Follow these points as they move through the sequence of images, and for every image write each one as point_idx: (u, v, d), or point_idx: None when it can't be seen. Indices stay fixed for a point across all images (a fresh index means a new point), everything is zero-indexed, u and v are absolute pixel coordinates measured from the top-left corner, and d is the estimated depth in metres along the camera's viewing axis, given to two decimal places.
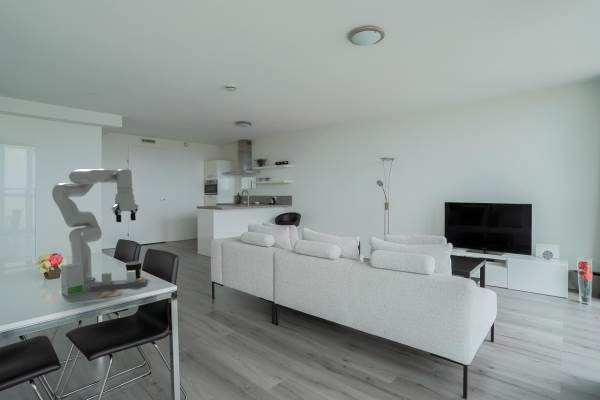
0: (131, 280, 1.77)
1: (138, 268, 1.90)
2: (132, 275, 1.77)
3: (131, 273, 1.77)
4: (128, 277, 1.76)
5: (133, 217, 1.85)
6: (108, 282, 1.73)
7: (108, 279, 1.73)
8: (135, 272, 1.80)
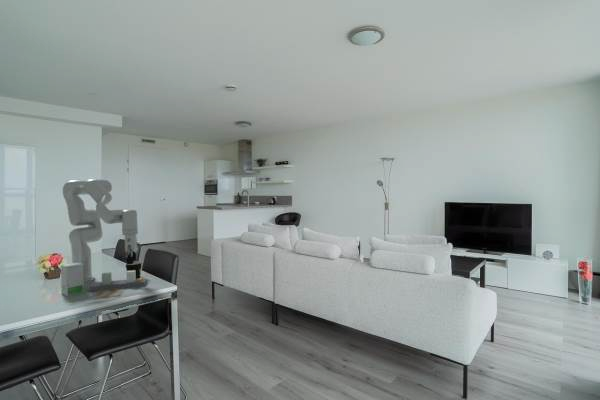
0: (131, 280, 1.77)
1: (138, 268, 1.90)
2: (132, 275, 1.77)
3: (131, 273, 1.77)
4: (128, 277, 1.76)
5: None
6: (108, 282, 1.73)
7: (108, 279, 1.73)
8: (135, 272, 1.80)
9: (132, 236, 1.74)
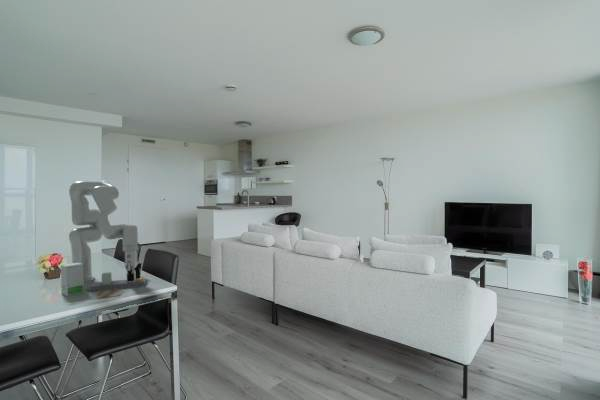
0: None
1: (138, 268, 1.90)
2: None
3: None
4: None
5: None
6: (108, 282, 1.73)
7: (108, 279, 1.73)
8: (135, 272, 1.80)
9: (132, 252, 1.74)
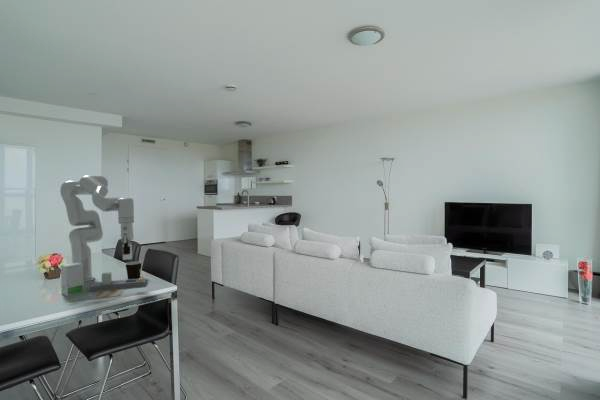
0: None
1: (138, 268, 1.90)
2: None
3: None
4: None
5: None
6: (108, 282, 1.73)
7: (108, 279, 1.73)
8: (131, 246, 1.77)
9: (128, 224, 1.71)
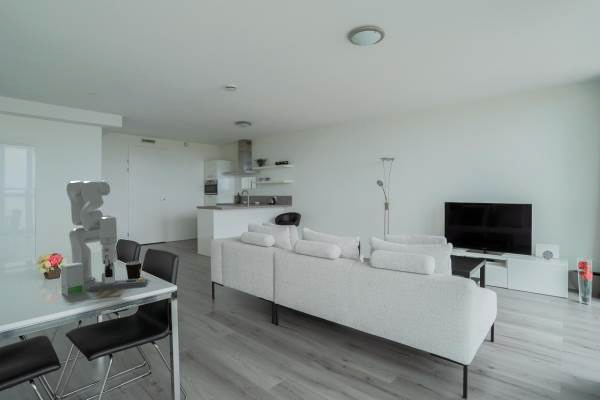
0: None
1: (138, 268, 1.90)
2: None
3: None
4: None
5: None
6: None
7: None
8: (114, 268, 1.66)
9: (110, 246, 1.60)
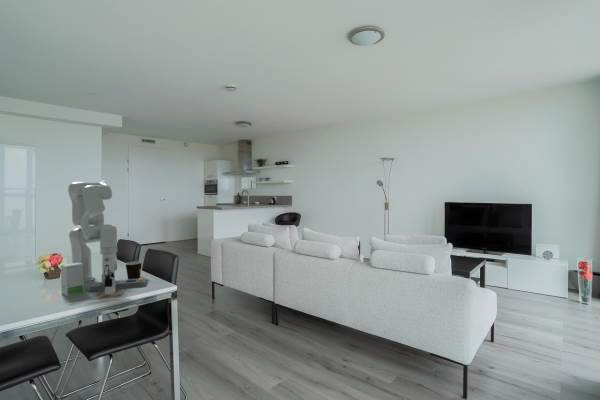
0: (110, 288, 1.63)
1: (138, 268, 1.90)
2: None
3: None
4: None
5: None
6: None
7: None
8: None
9: (110, 255, 1.60)
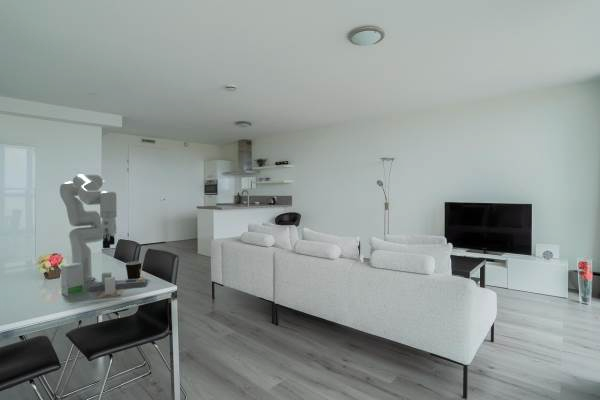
0: (110, 288, 1.63)
1: (138, 268, 1.90)
2: (111, 282, 1.63)
3: (110, 280, 1.63)
4: (106, 284, 1.62)
5: None
6: None
7: None
8: None
9: (110, 219, 1.66)
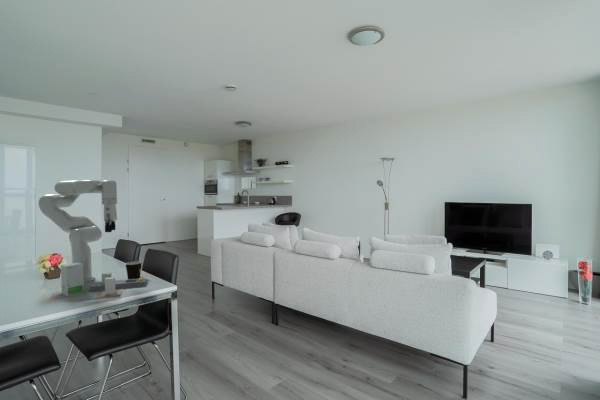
0: (110, 288, 1.63)
1: (138, 268, 1.90)
2: (111, 282, 1.63)
3: (110, 280, 1.63)
4: (106, 284, 1.62)
5: None
6: None
7: None
8: None
9: (111, 205, 1.81)
